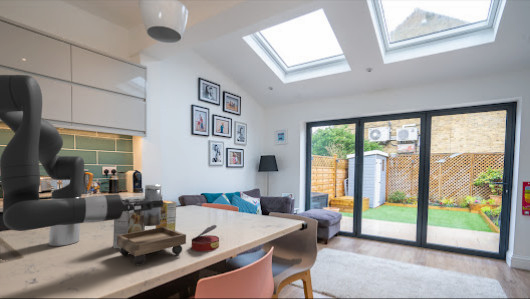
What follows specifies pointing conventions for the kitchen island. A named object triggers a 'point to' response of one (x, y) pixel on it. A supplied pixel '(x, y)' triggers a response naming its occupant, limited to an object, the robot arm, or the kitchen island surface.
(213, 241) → the canned food
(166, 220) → the candy box
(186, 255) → the kitchen island surface
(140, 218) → the coffee box
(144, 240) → the tray
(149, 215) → the canister
